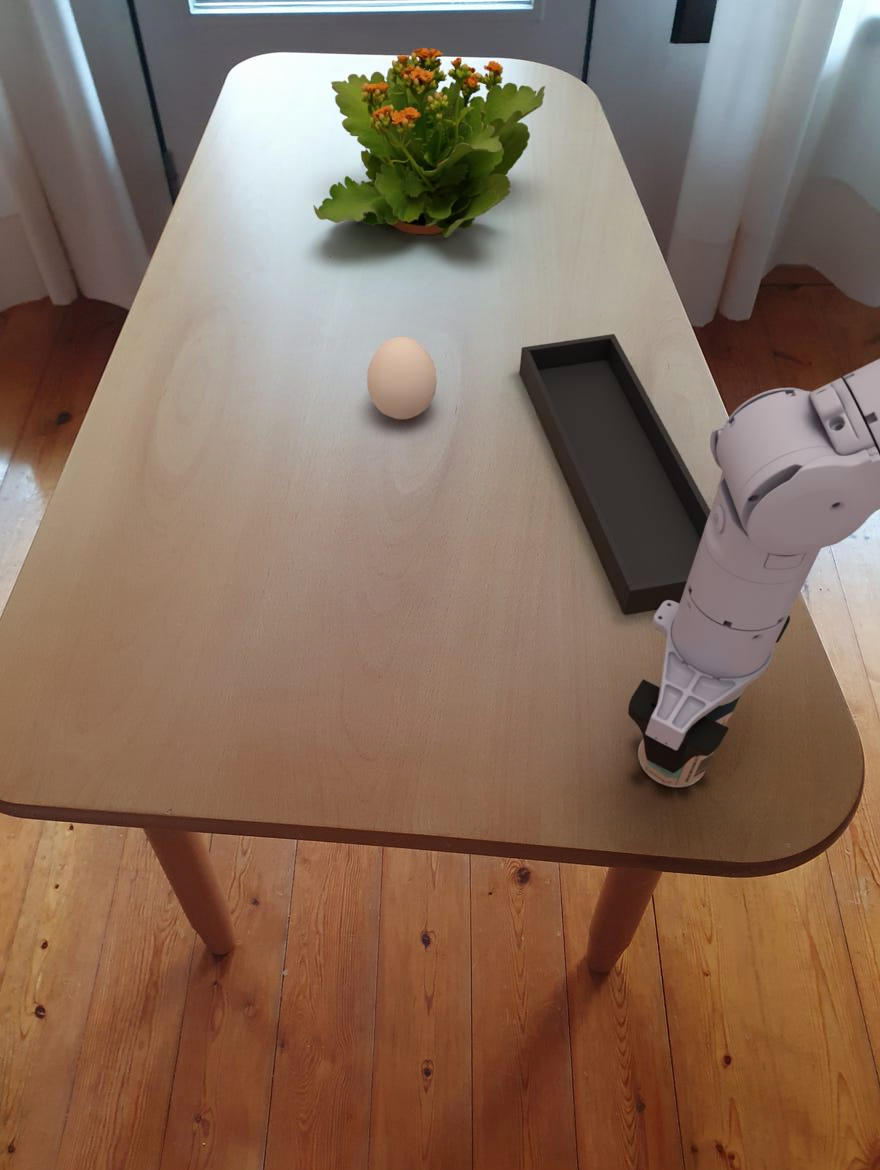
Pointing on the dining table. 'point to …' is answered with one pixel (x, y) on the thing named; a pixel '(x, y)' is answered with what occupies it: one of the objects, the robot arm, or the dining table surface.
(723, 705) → the beer can
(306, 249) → the dining table surface
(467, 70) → the potted flower
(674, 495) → the baking pan
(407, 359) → the egg
